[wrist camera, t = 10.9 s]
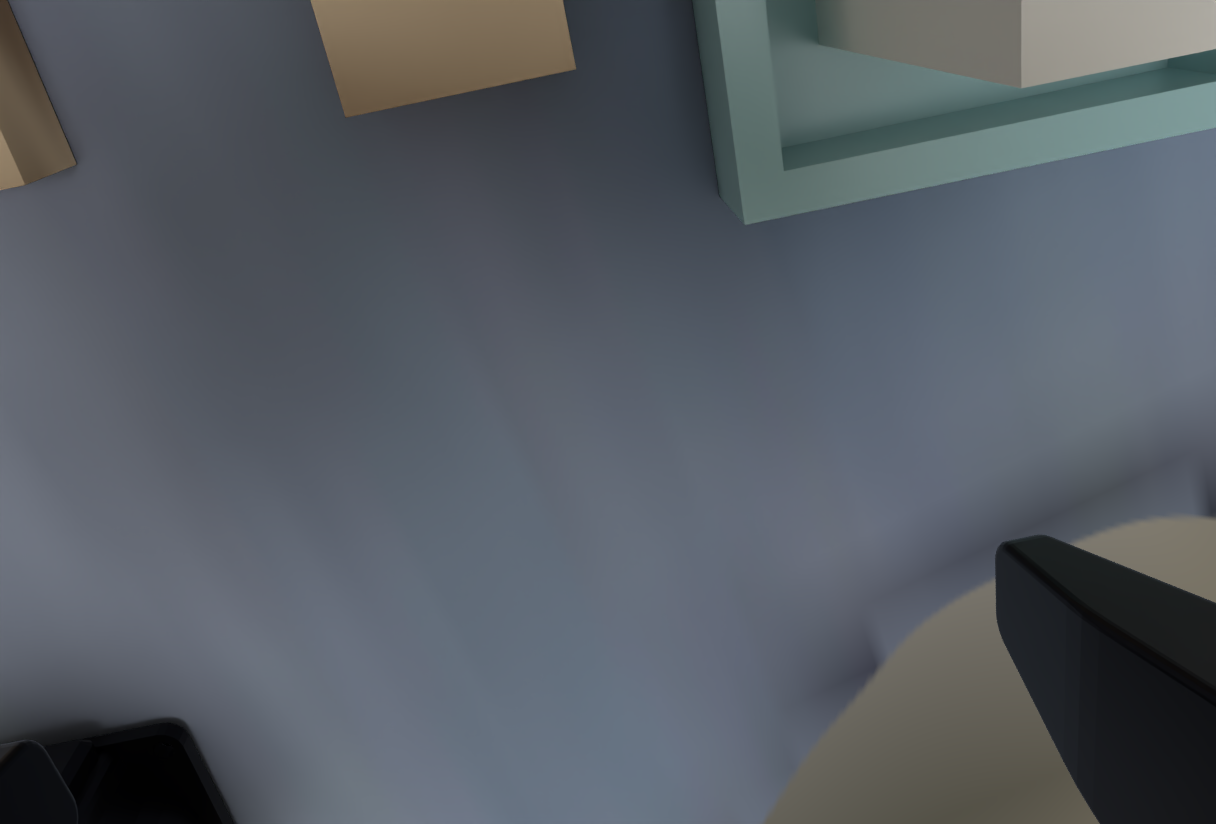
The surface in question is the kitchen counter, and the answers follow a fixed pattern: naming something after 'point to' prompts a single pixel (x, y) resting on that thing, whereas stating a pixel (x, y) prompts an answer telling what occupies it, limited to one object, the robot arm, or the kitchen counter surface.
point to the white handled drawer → (1019, 34)
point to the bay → (332, 64)
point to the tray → (903, 113)
